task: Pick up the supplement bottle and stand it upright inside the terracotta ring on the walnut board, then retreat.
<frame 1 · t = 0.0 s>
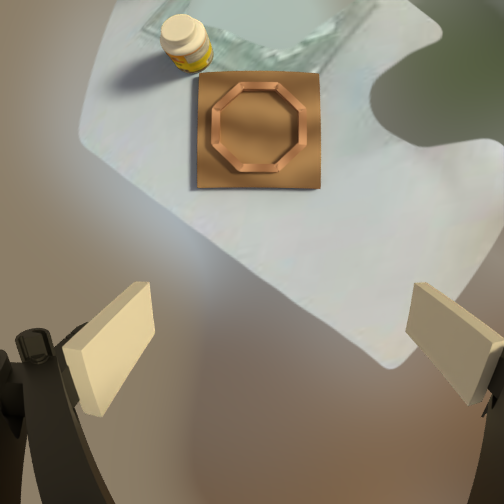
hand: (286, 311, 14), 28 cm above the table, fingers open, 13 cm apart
holder board: (259, 128, 39), on the table
supplement bottle: (195, 58, 36), on the table
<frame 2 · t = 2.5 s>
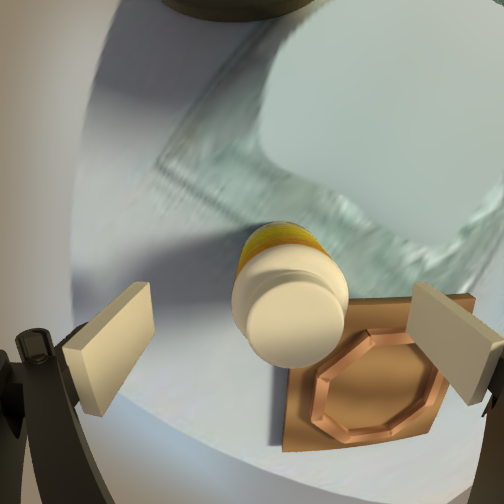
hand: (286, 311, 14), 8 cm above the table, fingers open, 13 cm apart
holder board: (376, 379, 24), on the table
supplement bottle: (280, 258, 22), on the table
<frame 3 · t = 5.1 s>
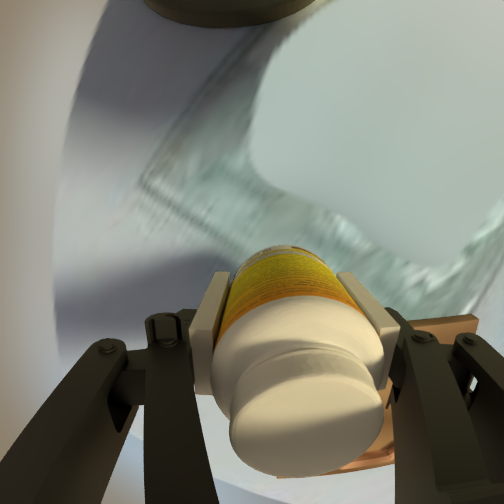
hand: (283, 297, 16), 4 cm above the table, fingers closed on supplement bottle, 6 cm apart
holder board: (374, 405, 22), on the table
supplement bottle: (282, 292, 17), point 3 cm above the table, touching gripper
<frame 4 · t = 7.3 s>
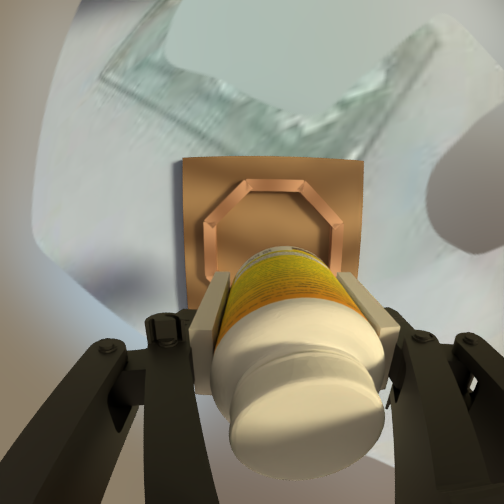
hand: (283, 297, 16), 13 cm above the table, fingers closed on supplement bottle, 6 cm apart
holder board: (272, 244, 29), on the table
supplement bottle: (282, 293, 16), point 12 cm above the table, touching gripper
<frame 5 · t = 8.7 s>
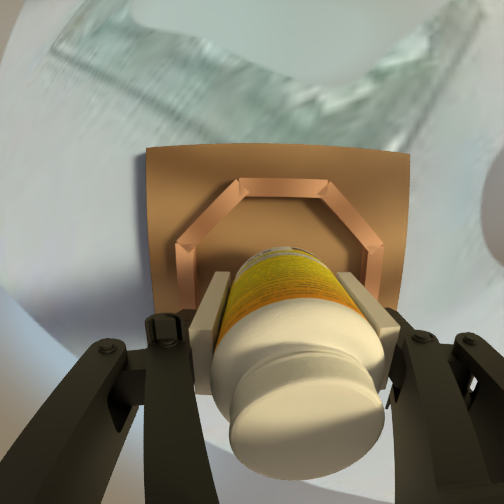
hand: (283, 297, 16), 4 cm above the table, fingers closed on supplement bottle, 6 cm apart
holder board: (279, 274, 20), on the table
supplement bottle: (282, 294, 16), point 3 cm above the table, touching gripper
when the fingers open (3 cm above the table, at t = 9.7 s): supplement bottle drops 1 cm, resting on holder board.
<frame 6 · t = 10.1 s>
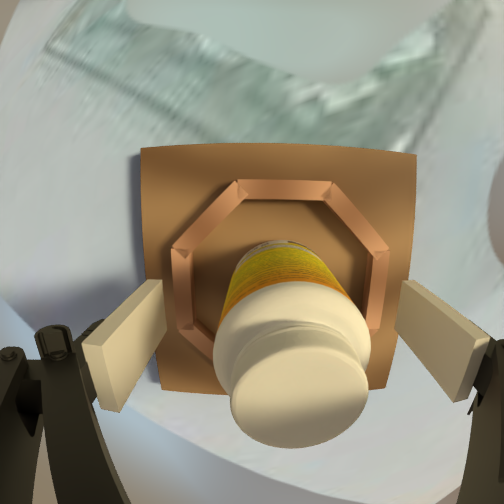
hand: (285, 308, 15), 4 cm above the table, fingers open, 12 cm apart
holder board: (279, 280, 19), on the table
supplement bottle: (279, 284, 18), point 1 cm above the table, touching holder board
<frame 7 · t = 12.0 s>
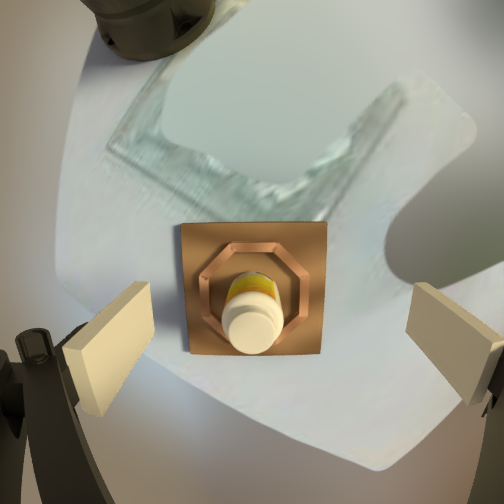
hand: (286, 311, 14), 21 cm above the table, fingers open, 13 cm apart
holder board: (254, 290, 36), on the table
supplement bottle: (253, 293, 35), point 1 cm above the table, touching holder board
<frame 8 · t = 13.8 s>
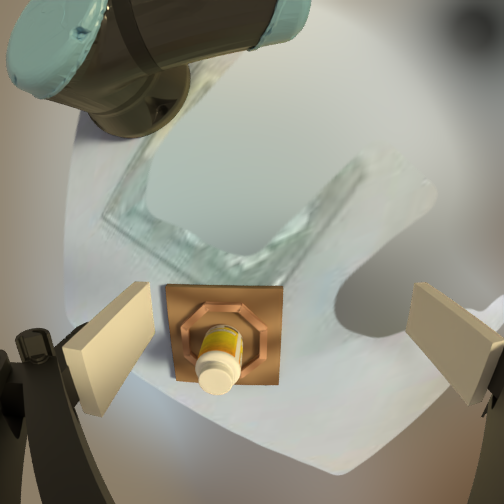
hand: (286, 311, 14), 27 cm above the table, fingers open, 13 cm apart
holder board: (225, 336, 44), on the table
supplement bottle: (224, 339, 43), point 1 cm above the table, touching holder board
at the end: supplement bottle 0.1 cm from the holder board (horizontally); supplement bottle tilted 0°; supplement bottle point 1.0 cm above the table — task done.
